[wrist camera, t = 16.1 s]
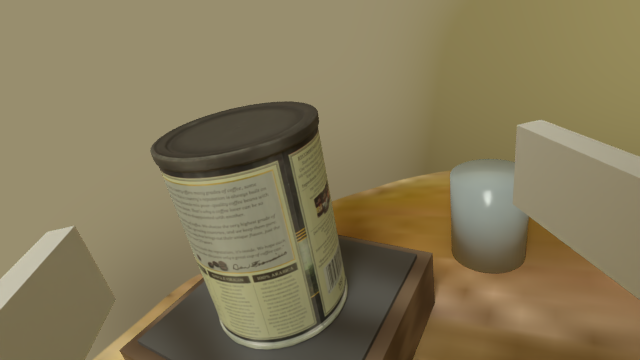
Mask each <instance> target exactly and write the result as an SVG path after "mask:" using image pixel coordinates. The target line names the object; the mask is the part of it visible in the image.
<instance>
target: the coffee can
mask: <svg viewBox="0 0 640 360" xmlns="http://www.w3.org/2000/svg"><path fill="white" fill-rule="evenodd" d="M318 124H319V117H318V111H317V110H316V108H314V107H313V106H311V105H309V104H305V103H299V102H271V103H262V104H254V105H248V106H243V107H238V108H234V109H229V110H226V111H222V112H218V113H215V114H211V115H208V116H205V117H202V118H199V119H196V120H194V121H191V122H189V123H186V124H184V125H182V126H180V127H178V128H176V129H173V130H172V131H170V132H168V133H166V134H165V135H164V136H162V137H161V138H159V139H158V140H157V141H156V142H155V143H154V144H153V145H152V147H151V154H152V157H153V159H154V161H155V163H156V164H157V165H158V166H159V168H160V170H161V173H162V176H163V178H164V181H165V183H166V185H167V188H168V190H169V193H170V196H171V198H172V201H173V203H174V206H175V208H176V210H177V213H178V216H179V218H180V221H181V223H182V226H183V228H184V231H185V233H186V236H187V238H188V241H189V243H190V246H191V248H192V250H193V253H194V256H195V258H196V261H197V263H198V266H199V268H200V271H201V273H202V276H203V278H204V281H205V283H206V285H207V288H208V290H209V293H210V295H211V298H212V300H213V303H214V305H215V307H216V310H217V312H218V316H219V320H220V323H221V326H222V328H223V330H224V331H225V333H226V334H227V335H228V336H229V337H230V338H231V339H232V340H234V341H235V342H236V343H238V344H241V345H244V346H246V347H249V348H254V349H265V350H268V349H280V348H284V347H290V346H293V345H295V344H298V343H300V342H303V341H306V340H307V339H309V338H312V337H314V336H315V335H317V334H318V333H320V332H321V331H323V330H324V329H325V328H326V327H328V326H329V325H330V324H331V323H332V322H333V321H334V320H335V318H336V317H337V316H338V314H339V313H340V311H341V309H342V307H343V305H344V303H345V301H346V297H347V291H348V285H347V279H346V276H345V273H344V268H343V262H342V257H341V251H340V246H339V240H338V235H337V229H336V224H335V219H334V213H333V207H332V202H331V197H330V191H329V186H328V180H327V174H326V169H325V163H324V158H323V152H322V147H321V141H320V136H319V131H318Z"/></svg>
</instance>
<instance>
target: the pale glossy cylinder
mask: <svg viewBox="0 0 640 360" xmlns="http://www.w3.org/2000/svg"><path fill="white" fill-rule="evenodd" d="M514 171H515V162H511V161H507V160H498V159H480V160H473V161H468V162H465V163H462V164H460V165H458V166H456V167H455V168H454V169H452V171H451V173H450V190H451V242H452V254H453V256H454V257H455V259H456V260H457V261H458V262H459V263H461V264H462V265H464V266H465V267H467V268H469V269H472V270H475V271H478V272H483V273H494V274H497V273H505V272H509V271H512V270H515V269H517V268H518V267H520V266H521V265H522V264H523V262H524V260H525V254H526V243H527V231H528V220H529V216H528V215H527V214H525V213H524V212H523V211H521V210H520V209H519V208H517V207H516V206H515V205H513V188H514Z"/></svg>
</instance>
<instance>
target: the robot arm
mask: <svg viewBox="0 0 640 360" xmlns="http://www.w3.org/2000/svg"><path fill="white" fill-rule="evenodd" d="M513 205H515V206H516V207H517V208H519V209H520V210H521V211H523V212H524V213H525V214H527V215H528V216H529V217H531V218H532V219H533V220H535V221H536V222H537V223H539V224H540V225H541V226H543V227H544V228H545V229H546V230H548V231H549V232H550V233H552V234H553V235H554V236H556V237H557V238H558V239H560V240H561V241H562V242H564V243H565V244H566V245H568V246H569V247H570V248H572V249H573V250H574V251H576V252H577V253H578V254H580V255H581V256H582V257H584V258H585V259H586V260H588V261H589V262H590V263H592V264H593V265H594V266H596V267H597V268H598V269H600V270H601V271H602V272H604V273H605V274H606V275H607V276H609V277H610V278H611V279H613V280H614V281H615V282H617V283H618V284H619V285H621V286H622V287H623V288H625V289H626V290H627V291H629V292H630V293H631V294H633V295H634V296H635V297H637V298H638V299H639V300H640V157H639V156H637V155H634V154H631V153H629V152H626V151H623V150H620V149H618V148H615V147H613V146H610V145H607V144H604V143H602V142H599V141H597V140H594V139H591V138H589V137H586V136H583V135H581V134H578V133H575V132H573V131H570V130H567V129H565V128H562V127H559V126H557V125H554V124H551V123H549V122H546V121H543V120H537V121H533V122H529V123H525V124H520V125H517V135H516V153H515V171H514V188H513ZM115 300H116V299H115V296H114V295H113V293H112V291H111V289H110V288H109V286H108V284H107V282H106V280H105V279H104V277H103V275H102V273H101V271H100V270H99V268H98V266H97V264H96V263H95V261H94V259H93V257H92V256H91V254H90V252H89V250H88V248H87V247H86V245H85V243H84V241H83V240H82V238H81V236H80V234H79V232H78V231H77V229H76V227H75V226H72V227H67V228H63V229H58V230H54V231H49V232H47V233H46V234H45V235H44V236H43V237H42V238H41V239H40V240H39V241H38V242H37V243H36V244H35V245H34V246H33V247H32V248H31V249H30V250H29V251H28V252H27V253H26V254H25V255H24V256H23V257H22V258H21V259H20V260H19V261H18V262H17V263H16V264H15V265H14V266H13V267H12V268H11V269H10V270H9V271H8V272H7V273H6V274H5V275H4V276H3V277H2V278H1V279H0V360H85V358H86V357H87V354H88V353H89V351H90V349H91V347H92V345H93V343H94V341H95V339H96V337H97V335H98V333H99V331H100V329H101V327H102V325H103V323H104V321H105V320H106V318H107V316H108V314H109V312H110V310H111V308H112V306H113V304H114V302H115Z"/></svg>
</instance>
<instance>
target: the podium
mask: <svg viewBox="0 0 640 360" xmlns="http://www.w3.org/2000/svg"><path fill="white" fill-rule="evenodd" d="M338 240H339V246H340V251H341V257H342V262H343V268H344V273H345V276H346V279H347V285H348V291H347V297H346V301H345V303H344V305H343V307H342V309H341V311H340V313H339V314H338V316H337V317H336V318H335V320H334V321H333V322H332V323H331V324H330V325H329V326H328V327H326V328H325V329H324V330H323V331H321V332H320V333H318V334H317V335H315V336H314V337H312V338H309V339H307V340H306V341H303V342H300V343H298V344H295V345H293V346H290V347H284V348H280V349H268V350H265V349H254V348H249V347H246V346H244V345H241V344H238V343H236V342H235V341H234V340H232V339H231V338H230V337H229V336H228V335H227V334H226V333H225V331H224V330H223V328H222V326H221V323H220V320H219V316H218V312H217V310H216V307H215V305H214V303H213V300H212V298H211V295H210V293H209V290H208V288H207V285H206V283H205V281H204V278H202V279H201V280H200V281H199V282H198V283H196V284H195V285H194V286H193V287H192V288H191V289H189V290H188V291H187V292H186V293H185V294H184V295H183V296H181V297H180V298H179V299H178V300H177V301H176V302H175V303H173V304H172V305H171V306H170V307H169V308H168V309H166V310H165V311H164V312H163V313H162V314H161V315H160V316H158V317H157V318H156V319H155V320H154V321H153V322H151V323H150V324H149V325H148V326H147V327H146V328H145V329H143V330H142V331H141V332H140V333H139V334H138V335H136V336H135V337H134V338H133V339H132V340H131V341H130V342H128V343H127V344H126V345H125V346H124V347H123V348H122V349H120V352H121V354H122V355H123V357H124V359H125V360H412V359H413V356H414V354H415V351H416V349H417V346H418V344H419V341H420V339H421V336H422V334H423V331H424V329H425V326H426V323H427V321H428V318H429V316H430V313H431V311H432V308H433V306H434V303H435V299H434V277H433V256H432V253H429V252H424V251H419V250H413V249H408V248H403V247H398V246H393V245H388V244H383V243H377V242H372V241H367V240H362V239H357V238H352V237H347V236H341V235H338Z"/></svg>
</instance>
